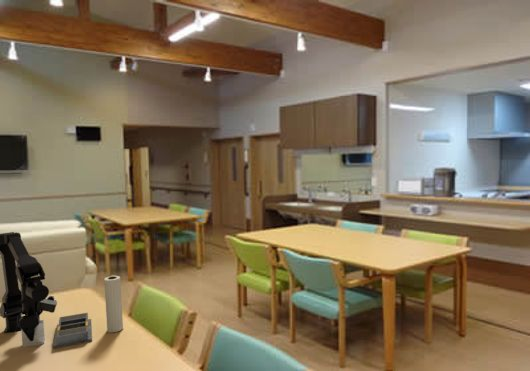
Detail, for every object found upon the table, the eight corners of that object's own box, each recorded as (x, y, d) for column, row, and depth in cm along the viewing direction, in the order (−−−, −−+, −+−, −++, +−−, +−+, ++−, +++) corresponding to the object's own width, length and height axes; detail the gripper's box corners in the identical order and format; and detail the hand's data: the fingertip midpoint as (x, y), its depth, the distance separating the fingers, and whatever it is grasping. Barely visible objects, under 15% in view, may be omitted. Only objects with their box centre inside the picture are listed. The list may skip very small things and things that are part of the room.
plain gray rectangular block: (23, 344, 153) (22, 323, 152) (44, 340, 155) (43, 319, 155) (22, 347, 150) (21, 326, 149) (44, 343, 153) (42, 322, 152)
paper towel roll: (117, 333, 160) (114, 280, 158) (104, 332, 161) (100, 279, 159) (127, 325, 167) (124, 274, 165) (114, 324, 168) (111, 274, 166)
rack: (57, 327, 167) (56, 317, 167) (91, 321, 172) (90, 311, 172) (53, 348, 148) (52, 337, 148) (92, 341, 153) (91, 330, 153)
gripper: (52, 299, 146) (55, 341, 147) (56, 284, 163) (58, 322, 164) (16, 304, 141) (20, 348, 143) (24, 289, 159) (27, 328, 160)
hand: (33, 335), depth 152 cm, fingers open, 9 cm apart
